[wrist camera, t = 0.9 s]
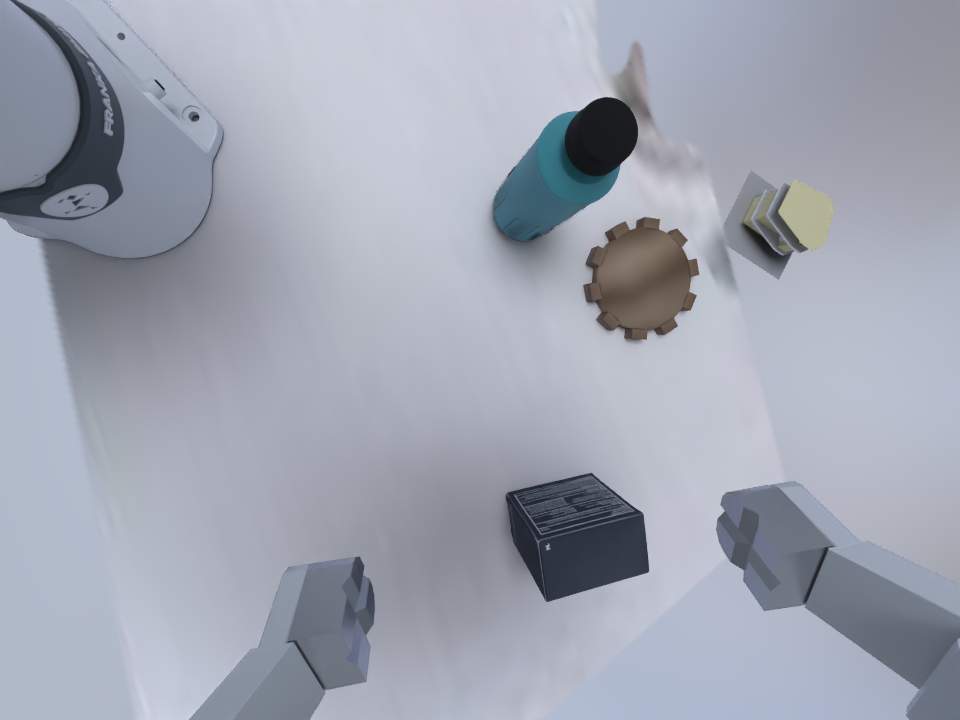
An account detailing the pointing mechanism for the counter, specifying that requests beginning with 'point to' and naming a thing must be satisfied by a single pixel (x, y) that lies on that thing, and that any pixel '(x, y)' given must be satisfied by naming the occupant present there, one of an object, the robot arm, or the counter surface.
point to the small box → (577, 535)
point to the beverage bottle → (566, 168)
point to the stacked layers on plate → (777, 222)
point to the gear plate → (641, 278)
